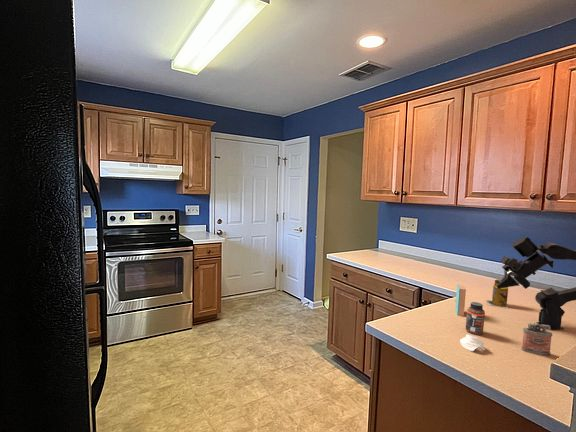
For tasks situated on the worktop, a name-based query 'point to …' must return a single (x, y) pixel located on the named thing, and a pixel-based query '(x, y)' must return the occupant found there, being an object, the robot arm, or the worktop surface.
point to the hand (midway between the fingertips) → (497, 287)
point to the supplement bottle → (475, 318)
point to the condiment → (499, 296)
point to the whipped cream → (471, 343)
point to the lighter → (537, 339)
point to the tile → (460, 300)
